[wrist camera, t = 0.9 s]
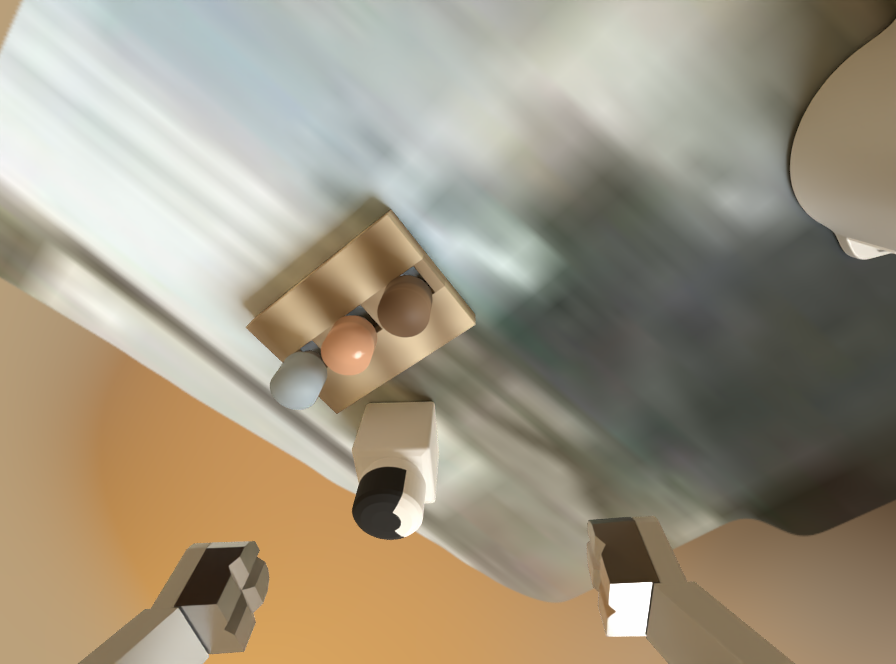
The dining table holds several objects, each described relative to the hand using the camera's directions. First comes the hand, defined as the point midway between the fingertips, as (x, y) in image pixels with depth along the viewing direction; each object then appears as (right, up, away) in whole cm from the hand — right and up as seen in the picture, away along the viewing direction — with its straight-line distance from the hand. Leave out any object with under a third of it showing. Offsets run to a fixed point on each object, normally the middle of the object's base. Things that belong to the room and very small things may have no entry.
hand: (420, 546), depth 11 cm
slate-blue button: (-12, +3, +31) cm, 34 cm away
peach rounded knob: (-7, +6, +30) cm, 31 cm away
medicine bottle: (-4, -5, +38) cm, 38 cm away
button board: (-7, +7, +31) cm, 33 cm away
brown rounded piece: (-2, +9, +28) cm, 29 cm away
